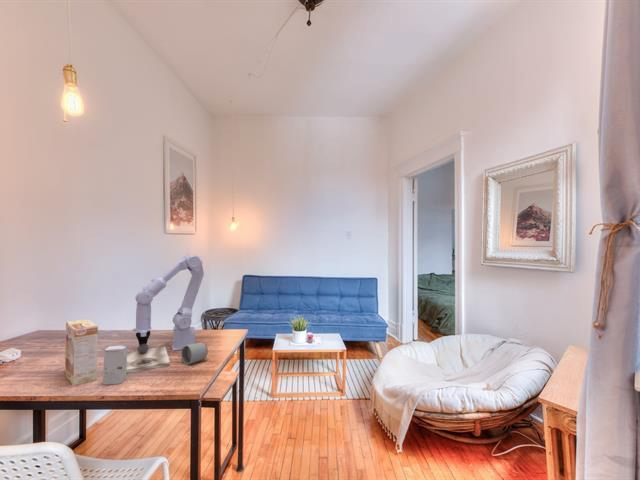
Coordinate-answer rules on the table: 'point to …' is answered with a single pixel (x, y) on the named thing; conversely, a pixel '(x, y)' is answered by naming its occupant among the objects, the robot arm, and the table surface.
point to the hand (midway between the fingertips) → (142, 348)
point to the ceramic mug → (194, 353)
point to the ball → (142, 348)
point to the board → (147, 359)
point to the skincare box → (115, 364)
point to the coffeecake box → (81, 351)
